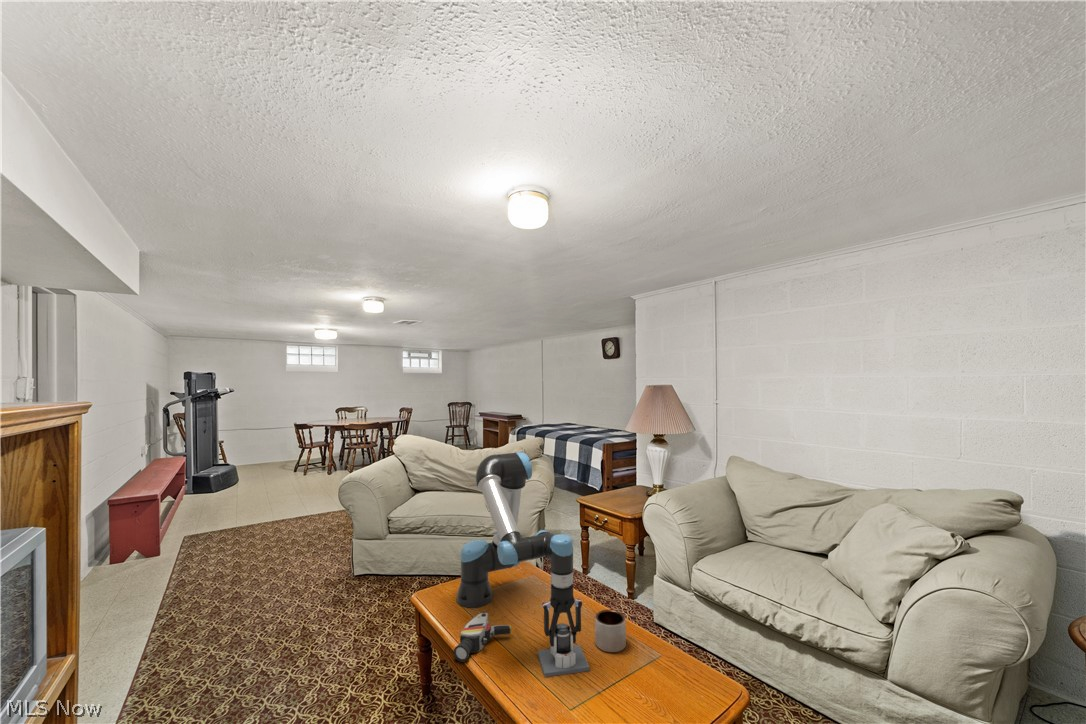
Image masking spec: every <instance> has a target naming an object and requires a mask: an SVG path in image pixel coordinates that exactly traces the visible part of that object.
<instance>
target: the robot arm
mask: <svg viewBox="0 0 1086 724" xmlns="http://www.w3.org/2000/svg"><path fill="white" fill-rule="evenodd" d="M532 466H533V465H532V463H531V460H530V457H529V456H528V454H526V453H525V452H523V451H522V452H516V451H515V452H512V453H511V452H509V453H508V452H507V453H501V454H496V453H495V454H490V455H488V456H486V457H484V459H482V460H481V462H480V463H479V464H478V467H477V469H476V473H475V483H476V486H477V488H478V491H479V492H480V493H482V495H483V497H484V501H485V504H486V505H487V509H488V512H489V515H490V516H491V519H492V522H493V526H494V528H495V530H496V533H495V534H494V535H493V536H492V542H488V540H485V539H475V540H472V541H469V542H467V543H465V544H464V545H463V546H462V548H461V551H460V558H459V560H460V583H459V587H458V590H457V592H456V602H457V603H458V605H460V606H461V607H465V608H478V607H483V606H486V605H488V604H489V603H491V601H492V600H493V591H492V587H491V584H490V580H489V573H491V572H496V571H501V570H505V569H511V568H514V567H517V566H518V565H519V564H520V563H522V562H527V561H532V560H537V559H541V558H547V559H548V560H550V599H549V601H548V602H542V603H541V604H542V608H543V632H544V634H545V636H546V637H549V645H550V647H551V646H553V655H554V658H555V656H556V654H557V642H556V635H555V630H556V626H557V625H558V621H559V617H560V615H561V614H562V613H565V614H566V616H567V621H568V625H569V627H570V652H571V651H573V646H574V644H576V640H577V639H576V637H577V633H581V632H582V607H583V602H582V600H581V598H575V597H574V584H573V583H574V546H573V538H572V537H571V536H570V535H566V534H563V533H562V534H553V533H552V532H551V531H547V530H544V529H541V530H539V531H537V532H536V533H535V534H534V535H532V536H525V537H522V534H521V532H520V530H519V527H518V521H519V512H520V503H521V496H522V495H521V494H522V489H523V488H525V486H526V483H527V482H526V481H529V480H530V479H531V478H532V476H533V467H532ZM573 606H575V623H574V619H573V616H572V612H571V609H572V607H573ZM551 607H552V608H553V613H552V618H551V622H550V610H551Z"/></svg>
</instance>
